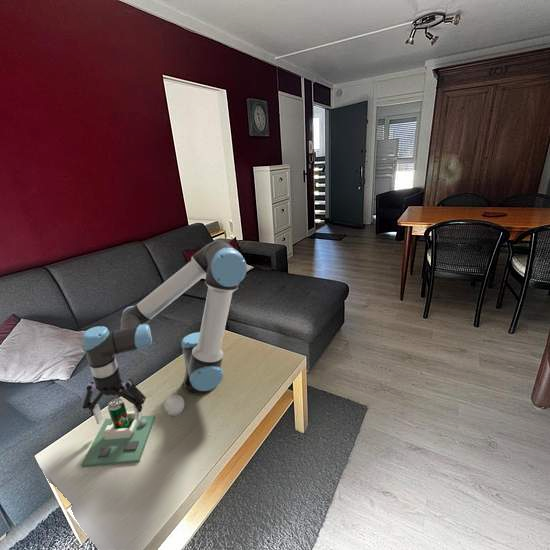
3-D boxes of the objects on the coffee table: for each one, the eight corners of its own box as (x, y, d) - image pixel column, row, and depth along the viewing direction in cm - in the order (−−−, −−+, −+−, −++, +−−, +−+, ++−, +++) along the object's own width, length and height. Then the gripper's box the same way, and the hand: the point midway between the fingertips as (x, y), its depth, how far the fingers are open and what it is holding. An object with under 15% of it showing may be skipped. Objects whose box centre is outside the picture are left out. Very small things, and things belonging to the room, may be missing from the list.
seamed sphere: (188, 405, 120) (185, 390, 117) (181, 420, 113) (179, 405, 110) (163, 404, 121) (160, 389, 118) (156, 419, 114) (152, 404, 111)
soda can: (118, 422, 111) (110, 397, 107) (132, 421, 112) (125, 396, 107) (112, 434, 107) (104, 409, 102) (127, 433, 107) (119, 407, 102)
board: (155, 417, 115) (153, 408, 113) (139, 462, 98) (136, 452, 96) (106, 421, 114) (103, 411, 112) (81, 467, 97) (77, 457, 95)
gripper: (147, 361, 104) (158, 408, 112) (72, 366, 102) (88, 413, 110) (140, 376, 97) (152, 425, 105) (59, 382, 95) (77, 431, 103)
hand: (119, 419), depth 107 cm, fingers open, 13 cm apart
